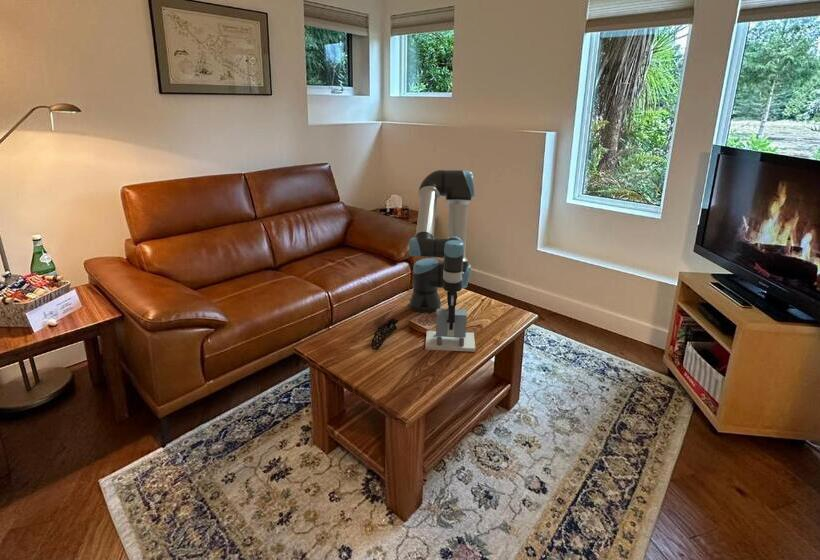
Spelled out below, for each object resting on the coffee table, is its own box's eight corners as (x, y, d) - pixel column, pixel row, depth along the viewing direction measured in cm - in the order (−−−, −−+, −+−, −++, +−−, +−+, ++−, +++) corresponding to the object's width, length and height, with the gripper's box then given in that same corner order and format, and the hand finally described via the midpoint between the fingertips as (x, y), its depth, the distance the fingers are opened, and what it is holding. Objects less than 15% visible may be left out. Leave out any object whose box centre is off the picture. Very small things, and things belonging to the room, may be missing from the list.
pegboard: (425, 349, 188) (425, 339, 186) (426, 333, 200) (427, 324, 198) (475, 351, 187) (475, 341, 185) (473, 335, 198) (474, 326, 197)
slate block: (435, 336, 190) (436, 314, 186) (436, 330, 194) (436, 308, 191) (465, 337, 189) (466, 315, 185) (465, 331, 193) (466, 310, 190)
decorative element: (380, 352, 187) (380, 339, 184) (368, 349, 188) (368, 336, 186) (399, 327, 206) (400, 315, 204) (389, 325, 208) (389, 313, 206)
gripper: (462, 289, 174) (460, 343, 183) (461, 272, 191) (459, 322, 199) (442, 288, 174) (441, 342, 183) (443, 271, 191) (441, 321, 200)
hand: (450, 332), depth 191 cm, fingers closed on slate block, 5 cm apart
